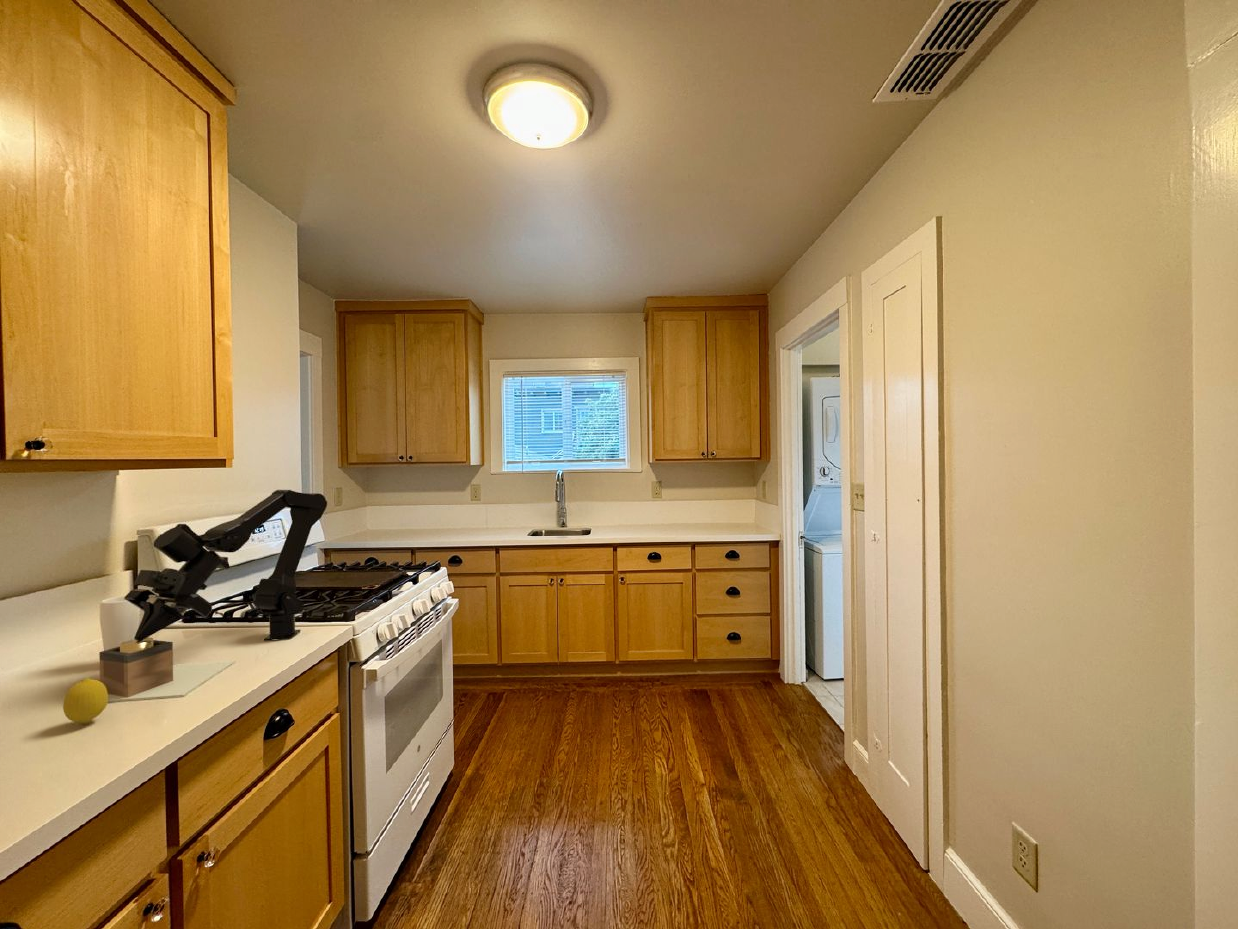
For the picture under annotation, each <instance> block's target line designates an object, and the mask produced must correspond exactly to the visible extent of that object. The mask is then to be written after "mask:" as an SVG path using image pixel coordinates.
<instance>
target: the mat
mask: <svg viewBox="0 0 1238 929" xmlns="http://www.w3.org/2000/svg"><path fill="white" fill-rule="evenodd" d="M234 662H235V663H236V660H227V661H226V660H225V661H222V660H221V661H210V662H196V663H195V662H192V663H191V662H190V663H178V664H173V681H171V682H169V683H166V684H163V685H160V686H158V687H155V688H152V689H150V690H147V691H144V692H141V693H139V694H136V695H133V696H131V697H123V696H117V695H110V694H108V701H107V703H116V702H129V701H142V700H143V701H144V699H146V700H157V699H158V700H159V699H170V698H171V699H172V698H182V697H183V698H184V697H185V696H187V695H188V694H190V693H192V692H193V691H195V690H196V689H197V687H198V688H199V687H201V686H202V685H204V684H205V683H206V681H207V682H208V681H210V680H211V679H213V678H214V677H216V676H217V675H219V674H220V673H222V672H223V671H225V670H226V669H228V668H230V667H231V666H232V665H234V664H235V663H234ZM233 663H234V664H233ZM231 664H232V665H231ZM230 665H231V666H230ZM227 667H228V668H227ZM224 669H225V670H224ZM221 671H222V672H221ZM215 675H216V676H215Z"/></svg>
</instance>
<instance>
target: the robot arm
mask: <svg viewBox="0 0 1238 929" xmlns="http://www.w3.org/2000/svg"><path fill="white" fill-rule="evenodd" d="M327 506H328V501H327V499H326V497H325V495H324V494H322V493H317V492H315V493H312V492H311V493H307V492H306V493H304V492H300V491H299V492H298V491H295V490H292V489H276V490H274V491H273V492H271V494H270V495H269V496H267V497H266V498H264V499H263V500H261V501H260V502H258V503H257V504H255V505H253V507H251V508H250V509H248V510H246V511H245V512H244V513H242V514H241V515H239V516H238V517H237V518H234V519H232V520H229V521H225V522H222V523H220V524H218V525H216V526H214V527H211V528H209V529H208V530H207V531H205V533H203V534H199V535H198V534H197V533H196V532H195V531H193V530H192V529H191V527H190V526H189V525H187V524H186V523H178V524H176V526H174V527H172V528H170V529H168V530H166V531H164V532H163V533H160V534H158V536H157V537H156V539H155V540H154V541H153V547H154V548H155V549H156V550H158V551H159V552H161V553H162V554H163V555H164V556H166V557H167V558H169V559H170V560H172V561H173V562H174V563H178V564H179V563H180V564H181V563H183V562H184V564H182V565H181V567H180V568H179V569H176V568H169V567H166V568H164V569H163V570H162V571H160V570H150V569H140V571H139V572H138V575H137V577H136V578H135V581H134V583H133V585H134V586H137V587H140V586H143V587H147V588H152V589H151V590H150V589H142V588H136V589H131V590H130V591H128V592H127V594H126V595H124V596H125V597H124V599H125V600H127V601H129V602H130V603H132V604H133V605H135V606H137V607H138V608H140V611H141V610H142V611H143V616H142V619H141V620H140V622H139V628H138V630H137V632H136V635H135V637H134V639H135V640H137V641H142V640H144V639H145V638H150V637H151V636H152V635H154V634H156V633H158V632H159V631H162V630H163V629H165V628H167V627H169V626H171V625H173V624H174V623H177V622H178V621H180V620H184V619H186V616H185V615H184V614H185V613H186V612H187V611H188V610H193V611H194V616H195V617H197V618H202V619H207V618H208V616H209V615H210V614H211V613H212V612H213V604H212V603H211V602H209V600H207V599H206V598H204V597H202V595H199V593H198V592H199V591H200V590H201V591H205V590H206V589H207V587H208V585H206V582H207V581H208V580H209V579H210V578H211V576H213V574H214V573H215V571H216V570H217V569H223V570H224V569H225V570H228V569H230V563H229V557H228V556H220V555H219V554H218V553H229V554H230V553H235V552H237V551H239V550H240V549H241V548H242V547H243V546H244V545H246V544H247V542H249V540H250V539H251V535H252V534H253V532H255V530H257V529H258V528H259V527H261V526H262V525H263V524H265V523H266V522H268V521H269V520H271V519H272V518H273V517H274V516H276V515H277V514H278V513H280V512H281V511H282V510H284V509H285V508H287V509H289V515H290V518H291V524H290V528H289V529H288V533H287V535H286V537H285V540H284V543H283V546H282V549H281V551H280V553H279V557H278V559H277V562H276V564H275V566H274V570H273V572H272V574H271V575H270V576H269V577H268V578H261V579H260V580H259V584H258V587H257V589H256V591H255V592H254V595H255V604H256V605H257V607H258V608H259V610H260V612H261V614H262V615H269V618H268V619H269V620H268V621H269V634H268V635H266V636H265V637H264V638H263V641H273V640H272V639H279V640H289V638H290V639H293V637H295V636H296V635H298V634H299V633H301V629H296V615H298V614H299V613H302V612H303V609H304V605H305V604H304V602H303V601H301V599H299V598H298V597H296V593H297V592H296V591H297V585H296V581H295V576H296V572H297V569H298V568H299V563H300V560H301V559H302V555H303V553H304V550H305V547H306V544H307V541H308V539H309V536H310V533H311V530H312V528H313V526H314V525H315V524H316V523H317V522H318V521H319V520H320V519H322V516H323V515H324V513H325V511H326V509H327ZM157 594H158V595H157ZM298 632H299V633H298ZM297 633H298V634H297ZM295 634H296V635H295ZM294 635H295V636H294Z"/></svg>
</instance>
